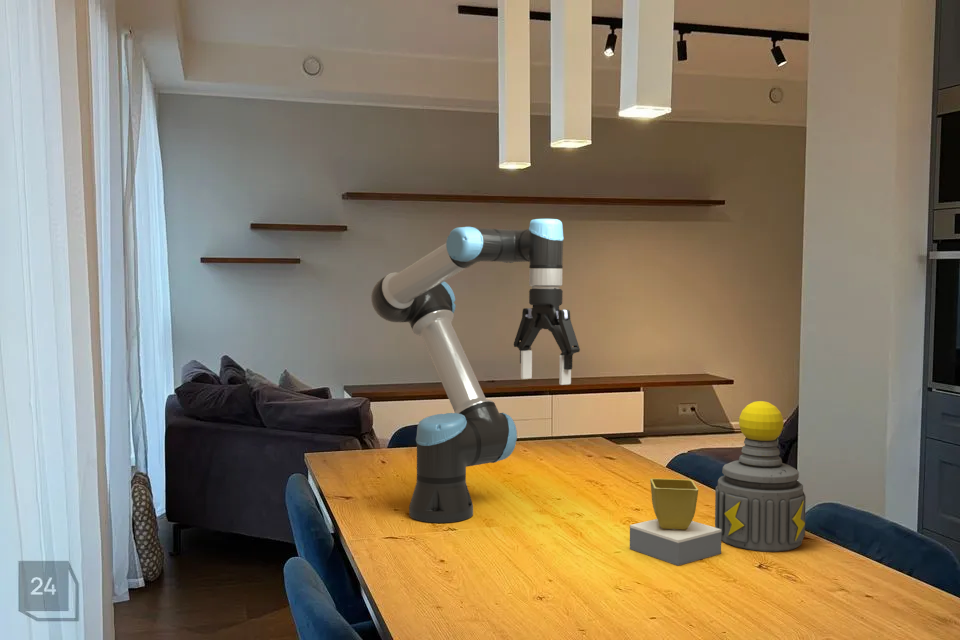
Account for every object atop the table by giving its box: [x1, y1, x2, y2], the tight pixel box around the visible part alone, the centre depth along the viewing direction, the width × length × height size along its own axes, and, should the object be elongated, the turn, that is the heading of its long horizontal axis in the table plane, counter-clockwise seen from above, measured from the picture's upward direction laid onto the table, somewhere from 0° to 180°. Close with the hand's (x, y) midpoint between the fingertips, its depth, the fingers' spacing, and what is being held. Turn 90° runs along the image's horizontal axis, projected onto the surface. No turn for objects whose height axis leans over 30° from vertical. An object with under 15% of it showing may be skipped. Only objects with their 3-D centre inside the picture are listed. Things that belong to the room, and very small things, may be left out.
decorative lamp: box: [714, 400, 807, 553], centre depth 185 cm, size 19×19×30 cm
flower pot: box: [650, 478, 699, 530], centre depth 177 cm, size 9×9×9 cm
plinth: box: [629, 518, 722, 566], centre depth 177 cm, size 13×13×5 cm
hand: (545, 381), depth 196 cm, fingers open, 13 cm apart
